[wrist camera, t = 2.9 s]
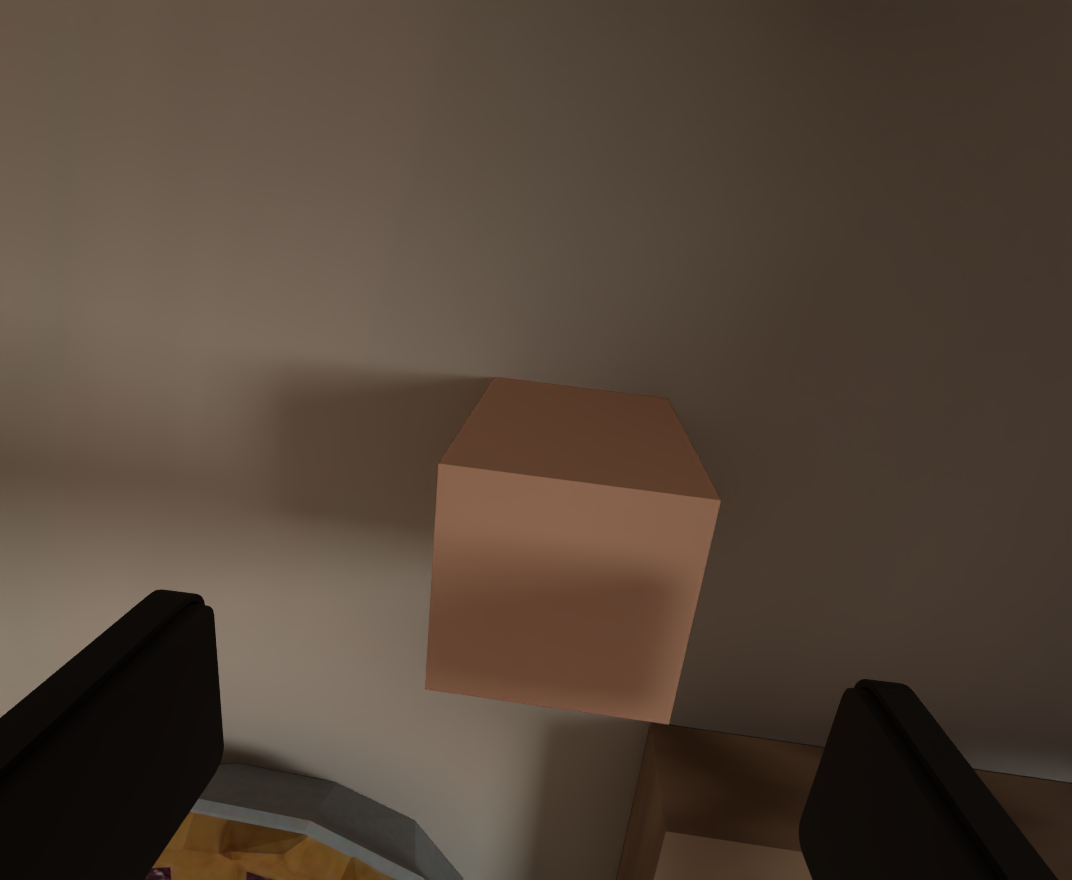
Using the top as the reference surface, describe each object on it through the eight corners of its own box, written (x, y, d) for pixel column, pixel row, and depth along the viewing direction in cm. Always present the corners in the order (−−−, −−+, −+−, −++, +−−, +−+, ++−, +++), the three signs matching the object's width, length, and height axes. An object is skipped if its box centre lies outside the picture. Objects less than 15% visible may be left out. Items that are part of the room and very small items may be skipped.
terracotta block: (667, 398, 17) (721, 500, 10) (638, 551, 19) (668, 724, 12) (494, 376, 17) (438, 463, 10) (481, 530, 19) (425, 689, 12)
